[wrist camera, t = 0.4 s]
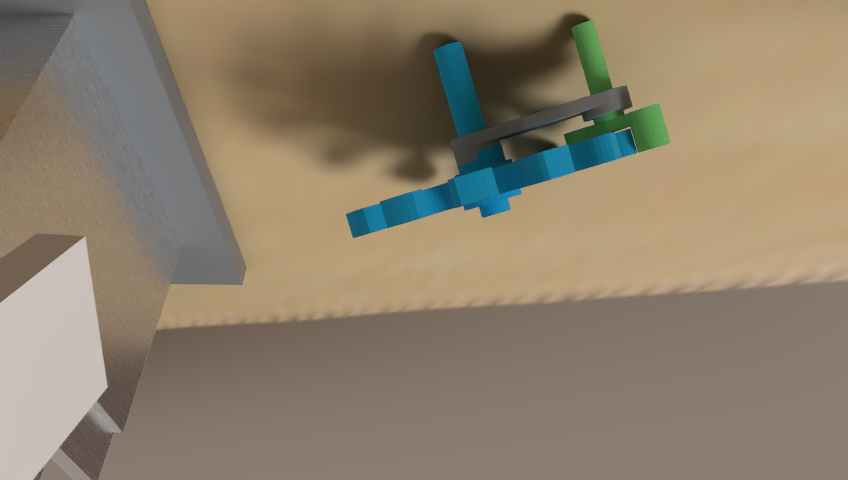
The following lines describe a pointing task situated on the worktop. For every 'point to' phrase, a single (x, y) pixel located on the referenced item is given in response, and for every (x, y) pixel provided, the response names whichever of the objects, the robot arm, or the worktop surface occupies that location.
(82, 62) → the heat sink
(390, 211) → the gear
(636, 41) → the worktop surface
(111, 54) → the cooler board
